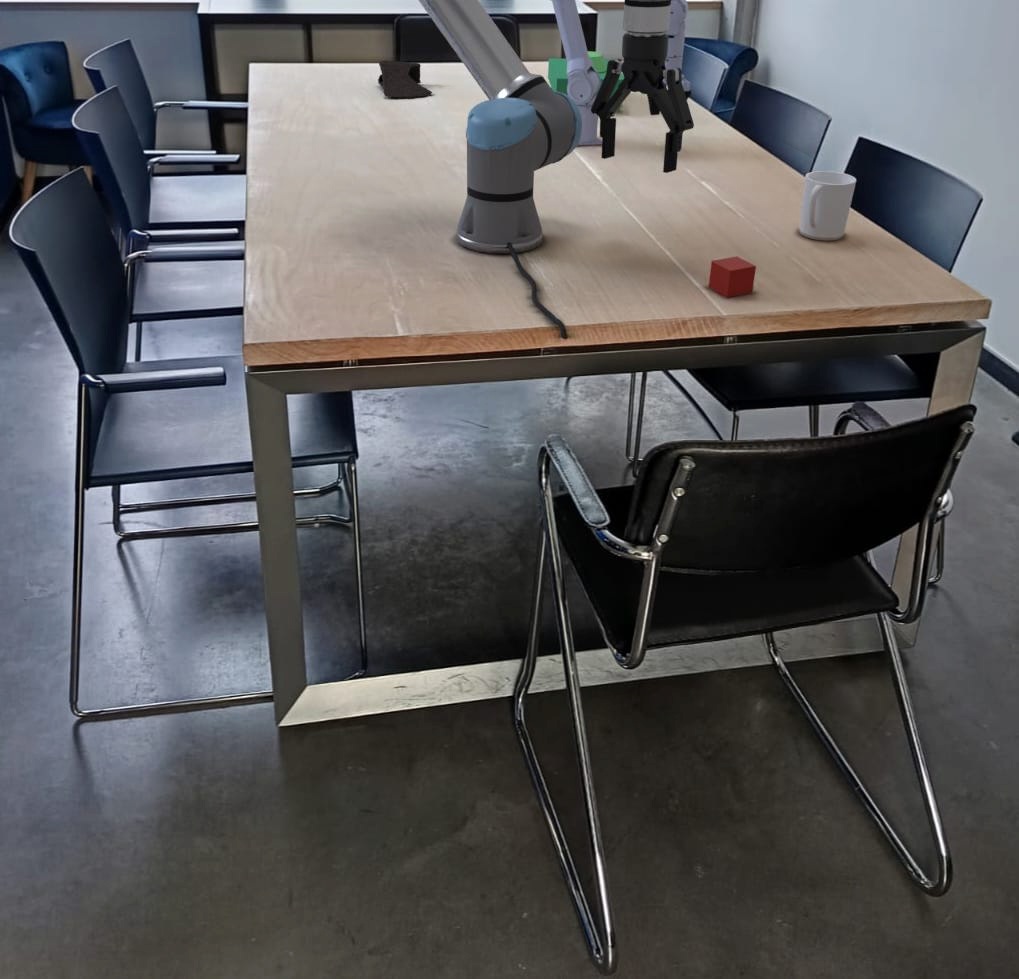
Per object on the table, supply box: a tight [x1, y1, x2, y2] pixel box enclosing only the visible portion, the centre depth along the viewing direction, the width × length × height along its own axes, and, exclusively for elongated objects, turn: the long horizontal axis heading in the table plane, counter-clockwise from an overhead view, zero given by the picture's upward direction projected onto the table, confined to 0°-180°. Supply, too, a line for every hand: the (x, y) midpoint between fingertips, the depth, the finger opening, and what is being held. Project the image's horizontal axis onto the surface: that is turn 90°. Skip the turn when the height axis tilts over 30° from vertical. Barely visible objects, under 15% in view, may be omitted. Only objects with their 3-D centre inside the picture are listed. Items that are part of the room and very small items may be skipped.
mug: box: [798, 170, 857, 241], centre depth 199 cm, size 11×9×10 cm
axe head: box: [377, 59, 433, 99], centre depth 299 cm, size 18×8×15 cm
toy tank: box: [547, 50, 626, 112], centre depth 293 cm, size 18×12×35 cm
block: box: [708, 256, 757, 298], centre depth 176 cm, size 5×5×4 cm
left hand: (638, 164), depth 190 cm, fingers open, 13 cm apart
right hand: (664, 118), depth 250 cm, fingers open, 7 cm apart
